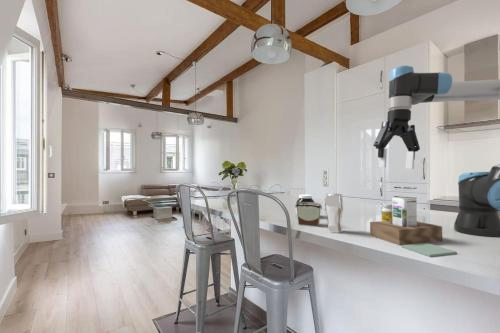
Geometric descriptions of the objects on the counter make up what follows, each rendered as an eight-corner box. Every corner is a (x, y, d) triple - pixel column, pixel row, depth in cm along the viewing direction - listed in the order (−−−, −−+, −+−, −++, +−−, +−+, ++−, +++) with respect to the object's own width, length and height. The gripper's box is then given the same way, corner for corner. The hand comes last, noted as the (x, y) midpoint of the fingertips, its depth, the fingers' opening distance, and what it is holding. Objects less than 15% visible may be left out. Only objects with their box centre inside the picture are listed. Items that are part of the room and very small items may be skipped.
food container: (326, 224, 122) (325, 202, 123) (321, 227, 117) (321, 204, 117) (300, 222, 129) (300, 201, 129) (295, 224, 124) (295, 202, 124)
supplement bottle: (398, 226, 117) (397, 204, 117) (389, 227, 115) (389, 205, 115) (387, 224, 122) (386, 203, 122) (379, 225, 120) (378, 203, 120)
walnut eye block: (409, 231, 106) (408, 219, 107) (442, 240, 93) (442, 226, 93) (370, 235, 102) (370, 222, 102) (399, 245, 88) (399, 230, 88)
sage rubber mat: (426, 244, 89) (426, 242, 89) (456, 253, 79) (456, 251, 79) (401, 247, 86) (401, 245, 86) (429, 256, 77) (429, 254, 77)
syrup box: (391, 236, 99) (391, 197, 100) (404, 235, 101) (403, 196, 101) (404, 240, 94) (403, 199, 94) (418, 239, 96) (417, 198, 96)
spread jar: (297, 218, 139) (297, 196, 139) (293, 214, 150) (293, 194, 150) (320, 218, 139) (320, 195, 139) (315, 214, 150) (314, 193, 150)
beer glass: (344, 233, 105) (344, 195, 105) (326, 232, 107) (325, 195, 107) (342, 229, 112) (341, 193, 112) (325, 229, 114) (324, 193, 114)
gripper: (414, 115, 106) (411, 169, 106) (364, 107, 98) (361, 166, 98) (433, 112, 99) (429, 169, 99) (381, 103, 91) (378, 166, 91)
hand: (396, 168), depth 99 cm, fingers open, 13 cm apart
